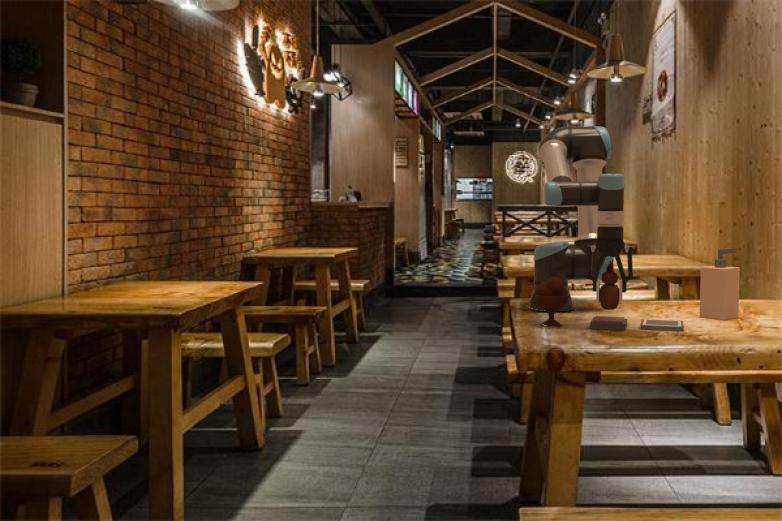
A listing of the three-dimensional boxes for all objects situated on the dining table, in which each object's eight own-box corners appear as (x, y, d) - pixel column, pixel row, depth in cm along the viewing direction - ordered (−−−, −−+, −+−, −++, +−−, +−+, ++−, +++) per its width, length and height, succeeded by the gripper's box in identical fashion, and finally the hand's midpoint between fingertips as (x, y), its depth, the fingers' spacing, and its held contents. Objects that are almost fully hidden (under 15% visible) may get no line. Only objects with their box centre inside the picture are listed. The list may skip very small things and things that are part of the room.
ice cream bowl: (570, 322, 238) (571, 275, 237) (566, 328, 228) (567, 278, 227) (536, 321, 242) (536, 274, 241) (531, 327, 231) (531, 277, 230)
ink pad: (590, 329, 227) (590, 320, 227) (593, 323, 236) (593, 315, 236) (625, 330, 224) (625, 322, 223) (627, 325, 233) (627, 316, 233)
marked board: (640, 329, 226) (640, 324, 226) (641, 322, 237) (641, 318, 237) (683, 331, 222) (683, 326, 222) (683, 324, 233) (683, 320, 233)
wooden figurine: (620, 310, 225) (621, 260, 224) (600, 310, 227) (600, 259, 225) (618, 307, 232) (618, 258, 231) (598, 307, 233) (599, 258, 232)
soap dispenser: (724, 320, 240) (726, 250, 238) (699, 317, 247) (700, 249, 245) (745, 316, 248) (747, 248, 246) (720, 313, 255) (721, 247, 253)
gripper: (576, 226, 227) (575, 303, 229) (643, 226, 221) (641, 305, 222) (579, 225, 234) (578, 300, 236) (644, 225, 228) (642, 302, 229)
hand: (609, 302), depth 229 cm, fingers closed on wooden figurine, 6 cm apart
